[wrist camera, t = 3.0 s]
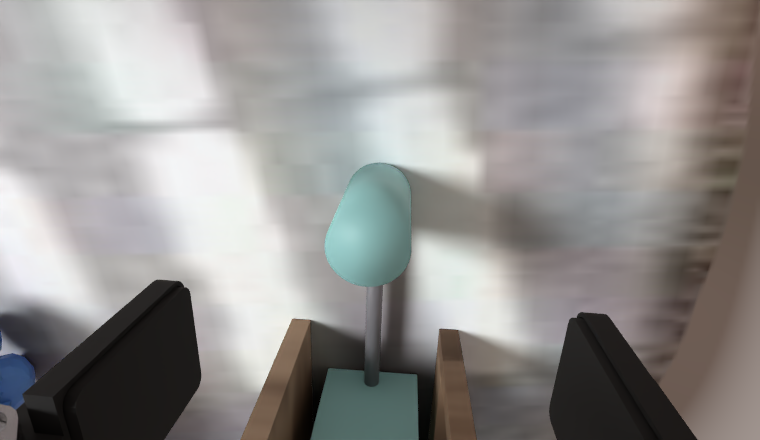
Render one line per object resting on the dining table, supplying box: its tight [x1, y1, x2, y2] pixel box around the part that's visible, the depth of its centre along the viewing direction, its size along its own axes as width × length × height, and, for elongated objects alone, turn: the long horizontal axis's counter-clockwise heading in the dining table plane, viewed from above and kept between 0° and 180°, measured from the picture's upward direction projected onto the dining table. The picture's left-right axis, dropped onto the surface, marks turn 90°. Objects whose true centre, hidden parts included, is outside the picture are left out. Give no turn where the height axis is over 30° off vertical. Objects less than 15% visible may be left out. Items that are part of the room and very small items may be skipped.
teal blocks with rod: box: [310, 163, 419, 440], centre depth 20 cm, size 17×5×6 cm, turn 178°
